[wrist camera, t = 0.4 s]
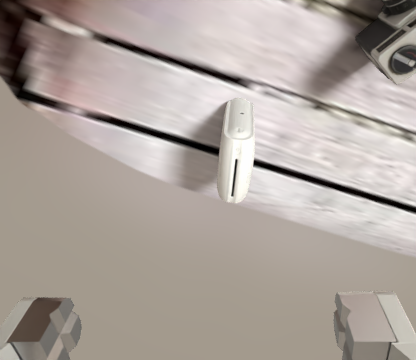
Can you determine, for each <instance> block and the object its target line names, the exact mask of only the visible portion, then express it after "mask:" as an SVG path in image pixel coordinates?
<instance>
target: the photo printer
mask: <svg viewBox="0 0 416 360" xmlns="http://www.w3.org/2000/svg"><path fill="white" fill-rule="evenodd" d="M254 151H255V131H254V105H253V103H250V102H249V101H248V100H247V99H244V98H235V99H233V100H231V101H228V103H227V105H226V109H225V114H224V120H223V127H222V134H221V143H220V151H219V161H218V175H217V189H218V194H219V196H220V198H221V199H222V200H224V201H225V202H233V203H239V202H241V201H242V200H243V199H244V198H245V196H246V194H247V192H248V189H249V185H250V180H251V175H252V168H253V161H254Z"/></svg>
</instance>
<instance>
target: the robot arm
mask: <svg viewBox="0 0 416 360" xmlns="http://www.w3.org/2000/svg"><path fill="white" fill-rule="evenodd" d="M335 303H336V307H337V310H336V311H335V312H334V331H335V336H336V341H337V344H338V347H339V348H340V349H341V350H342V351H343V356H342V360H416V334H415V332H414V329H413V327H412V325H411V324H410V322H409V319H408V318H407V316H406V314H405V312H404V310H403V308H402V306H401V304H400V302H399V300H398V298H397V296H396V294H395V293H394V292H393V291H377V292H376V291H375V292H372V291H367V292H337V293H336V297H335ZM73 307H74V304H73V302H72V300H71V298H23V299H21V300H20V301H18V303H17V304H16V306H15V307H14V308H13V310H12V311H11V313H10V314H9V316H8V317H7V318H6V320H5V321H4V323H3V324H2V325H1V327H0V360H70V357H69V352H70V351H71V350H72V349H74V347H76V345H77V343H78V341H79V339H80V334H81V320H80V318H79V315H77V314H76V313H75V312H73V311H72V309H73Z"/></svg>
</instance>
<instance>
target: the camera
mask: <svg viewBox="0 0 416 360" xmlns="http://www.w3.org/2000/svg"><path fill="white" fill-rule="evenodd" d="M382 1H383V2H384V4H385V5H384V6H383V8H382V12H381V13H380V14H379V15H378V19H376V20H375V21H374V22H373V23H372V24H370V25H369V26H368V27H367V28H366V29H364V30H363V31H362V32H361V33H359V34H358V35H357V36H356V41H357V43H358V44H359V45H360V47H361V48H362V49H363V51H364V53H365V54H366V55H367V56H368V58H369V59H370V60H371V62H372V63H373V64H374V65H375V67H376V68H377V69H378V70H379V71H380V72H381V73H383V74H384V75H385V76H386V77H387V78H388V79H390V80H391V81H393V82H394V83H395V84H401V83H402V82H403V81H405V80H406V79H408V78H409V77H411V76H412V75H413V74H415V73H416V0H382Z"/></svg>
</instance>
